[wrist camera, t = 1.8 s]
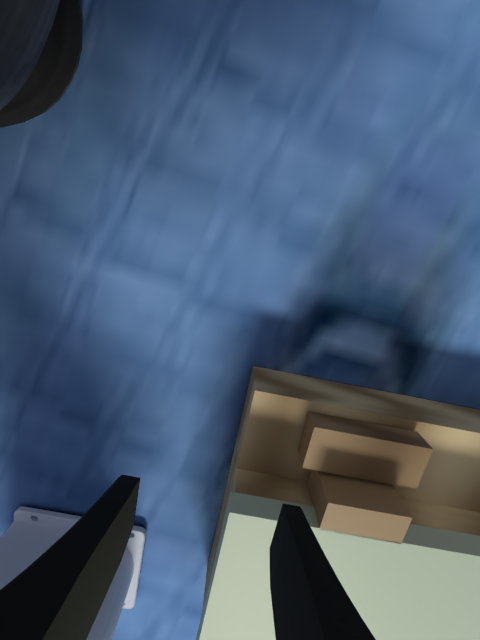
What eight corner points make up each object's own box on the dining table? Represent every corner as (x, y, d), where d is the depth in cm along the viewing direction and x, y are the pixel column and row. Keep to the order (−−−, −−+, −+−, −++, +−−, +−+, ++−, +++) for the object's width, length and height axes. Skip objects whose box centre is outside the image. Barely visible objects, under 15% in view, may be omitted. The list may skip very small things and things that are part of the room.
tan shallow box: (207, 565, 23) (197, 651, 18) (253, 365, 19) (255, 408, 14) (406, 599, 24) (447, 691, 19) (494, 412, 20) (577, 469, 15)
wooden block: (297, 449, 17) (302, 467, 15) (308, 411, 16) (314, 426, 15) (402, 468, 17) (416, 488, 15) (417, 431, 16) (433, 449, 15)
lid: (195, 625, 20) (181, 736, 15) (237, 445, 16) (234, 522, 12) (437, 664, 20) (490, 782, 16) (528, 498, 17) (629, 591, 12)
